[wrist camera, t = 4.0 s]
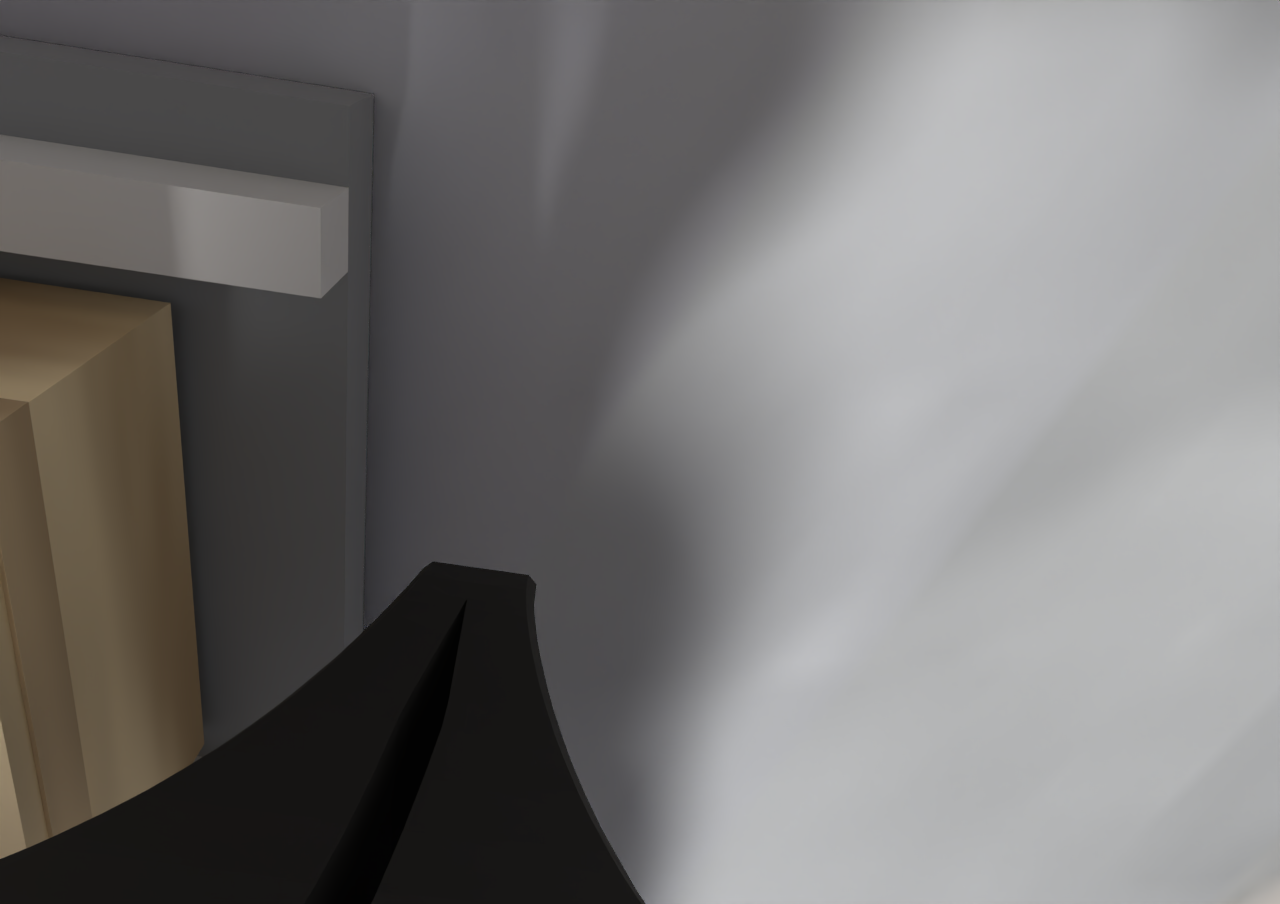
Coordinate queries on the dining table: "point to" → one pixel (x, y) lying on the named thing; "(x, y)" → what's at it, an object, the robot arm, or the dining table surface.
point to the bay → (222, 322)
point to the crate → (90, 560)
